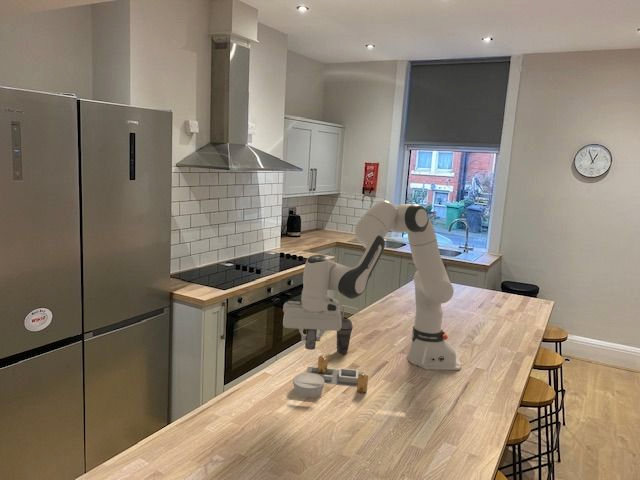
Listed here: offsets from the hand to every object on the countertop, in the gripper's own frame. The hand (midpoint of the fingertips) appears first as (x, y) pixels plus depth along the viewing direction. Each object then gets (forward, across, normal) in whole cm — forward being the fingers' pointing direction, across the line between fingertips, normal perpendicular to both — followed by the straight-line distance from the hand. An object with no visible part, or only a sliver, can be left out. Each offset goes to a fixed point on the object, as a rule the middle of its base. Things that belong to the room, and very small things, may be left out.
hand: (310, 340), depth 163 cm
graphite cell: (+3, 0, 0) cm, 3 cm away
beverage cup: (+20, +17, +36) cm, 44 cm away
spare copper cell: (+18, +6, +11) cm, 23 cm away
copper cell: (+20, +20, 0) cm, 28 cm away
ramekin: (+20, 0, 0) cm, 20 cm away
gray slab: (+20, +11, +11) cm, 25 cm away
